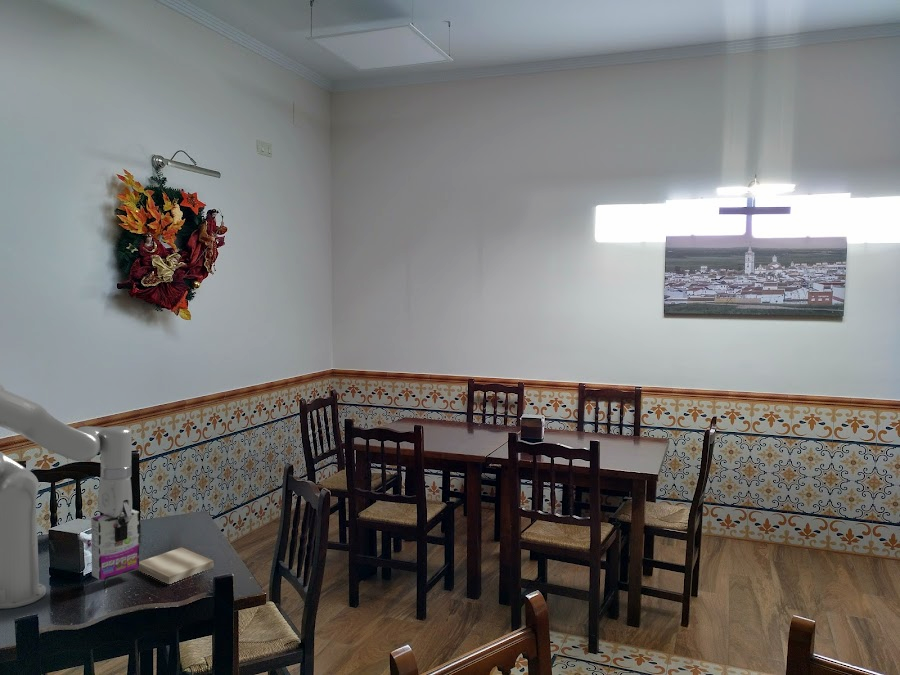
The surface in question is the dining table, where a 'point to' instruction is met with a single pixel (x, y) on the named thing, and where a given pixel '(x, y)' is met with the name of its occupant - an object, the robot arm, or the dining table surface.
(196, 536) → the dining table surface
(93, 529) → the candy bar box
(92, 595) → the dining table surface
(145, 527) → the dining table surface
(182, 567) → the pale wooden block
